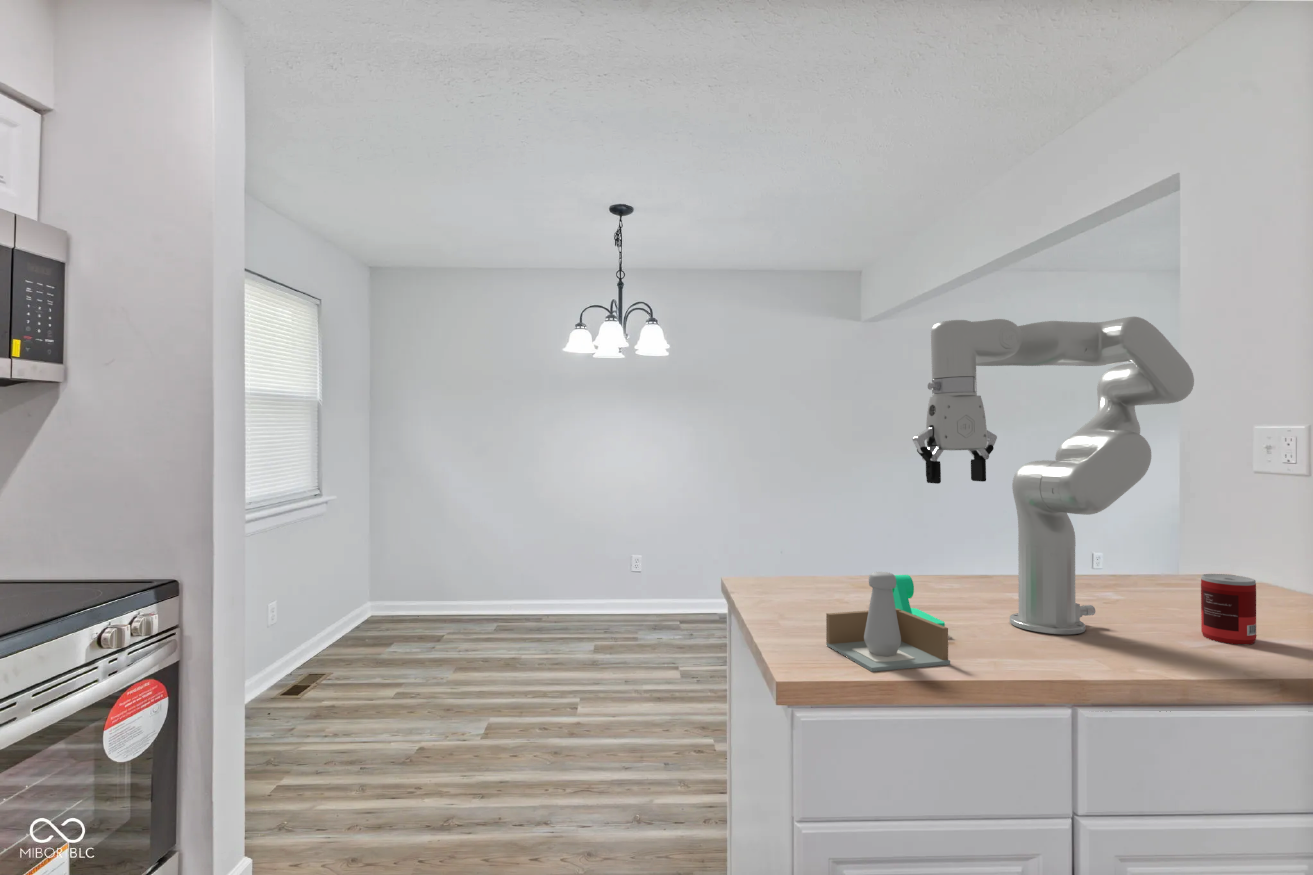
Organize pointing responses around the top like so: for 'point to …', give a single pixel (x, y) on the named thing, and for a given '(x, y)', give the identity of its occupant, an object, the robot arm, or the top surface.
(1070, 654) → the top surface
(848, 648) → the grey and wooden tray
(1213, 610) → the canned food
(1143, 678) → the top surface
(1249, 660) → the top surface
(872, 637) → the salt shaker
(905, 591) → the camera mount
